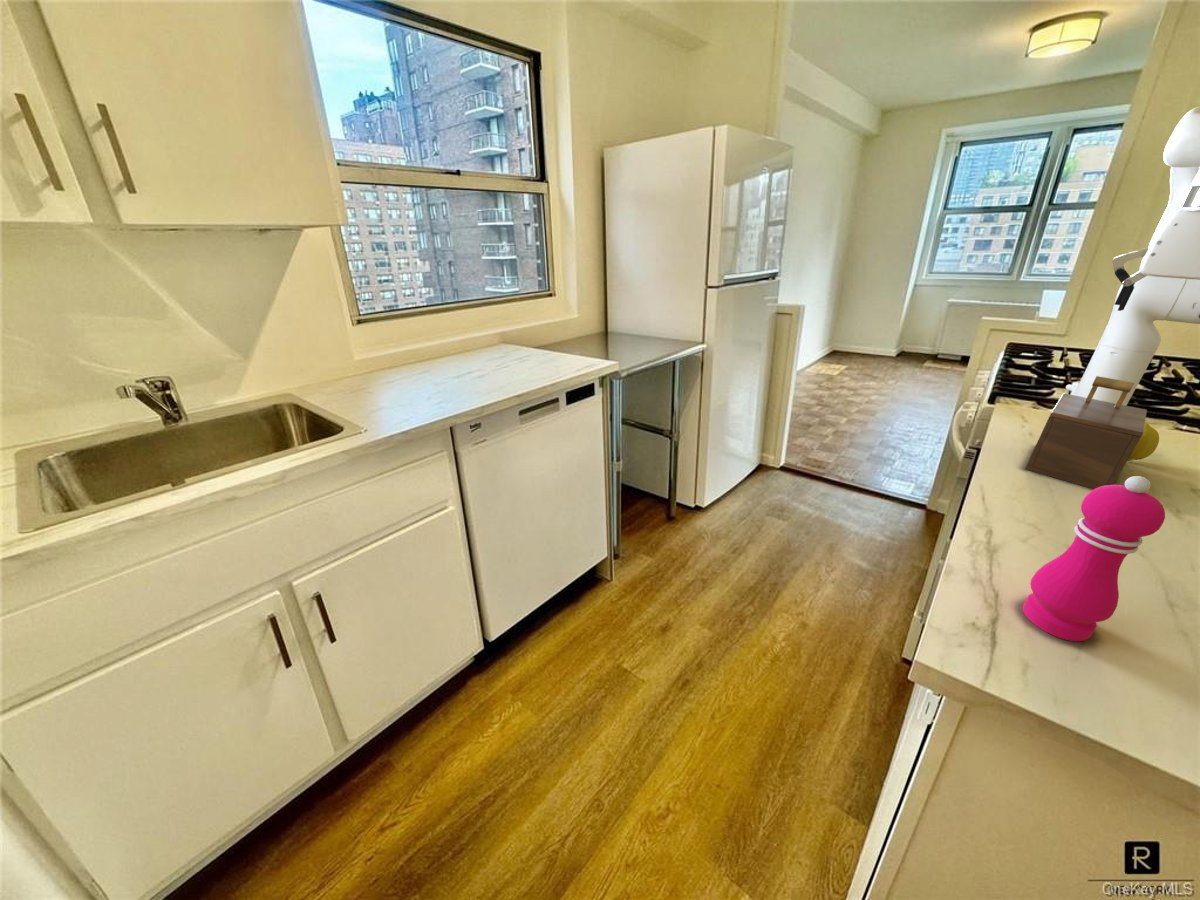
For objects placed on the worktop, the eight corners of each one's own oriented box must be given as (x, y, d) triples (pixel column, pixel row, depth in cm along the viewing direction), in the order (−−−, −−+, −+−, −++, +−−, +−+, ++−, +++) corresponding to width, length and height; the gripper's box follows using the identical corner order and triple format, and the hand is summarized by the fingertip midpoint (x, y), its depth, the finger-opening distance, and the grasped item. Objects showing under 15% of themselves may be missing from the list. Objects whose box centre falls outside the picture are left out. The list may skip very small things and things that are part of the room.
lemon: (1100, 457, 95) (1120, 420, 92) (1115, 452, 97) (1135, 416, 94) (1136, 470, 91) (1159, 431, 87) (1151, 464, 93) (1174, 426, 89)
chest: (1037, 447, 99) (1060, 398, 94) (1114, 467, 92) (1144, 415, 87) (1024, 469, 91) (1049, 416, 86) (1108, 493, 83) (1140, 437, 79)
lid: (1061, 396, 95) (1074, 369, 92) (1144, 413, 87) (1161, 384, 85) (1049, 416, 86) (1063, 386, 83) (1140, 437, 78) (1159, 405, 76)
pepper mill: (1002, 598, 61) (1075, 459, 52) (1061, 599, 61) (1143, 460, 52) (1048, 644, 55) (1139, 495, 45) (1113, 646, 54) (1218, 497, 45)
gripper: (1306, 201, 71) (1235, 319, 79) (1140, 201, 82) (1092, 304, 90) (1316, 200, 66) (1240, 325, 74) (1139, 200, 77) (1089, 309, 85)
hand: (1159, 314), depth 82 cm, fingers open, 9 cm apart
